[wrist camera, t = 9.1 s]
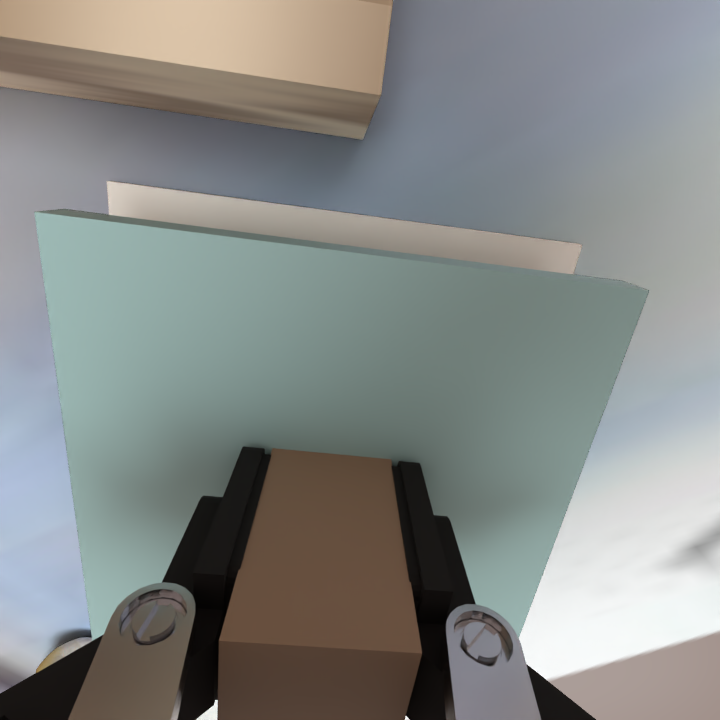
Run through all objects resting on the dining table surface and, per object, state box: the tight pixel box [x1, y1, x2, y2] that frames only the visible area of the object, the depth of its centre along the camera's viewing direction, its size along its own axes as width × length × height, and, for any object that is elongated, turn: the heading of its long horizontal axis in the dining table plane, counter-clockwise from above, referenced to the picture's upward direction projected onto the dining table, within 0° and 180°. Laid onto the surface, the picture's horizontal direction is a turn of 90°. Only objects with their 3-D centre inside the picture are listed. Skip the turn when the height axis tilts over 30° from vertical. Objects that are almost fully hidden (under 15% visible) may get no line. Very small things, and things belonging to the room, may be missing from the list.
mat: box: [107, 181, 582, 274], centre depth 16 cm, size 14×14×1 cm
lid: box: [34, 209, 649, 720], centre depth 11 cm, size 13×13×8 cm
